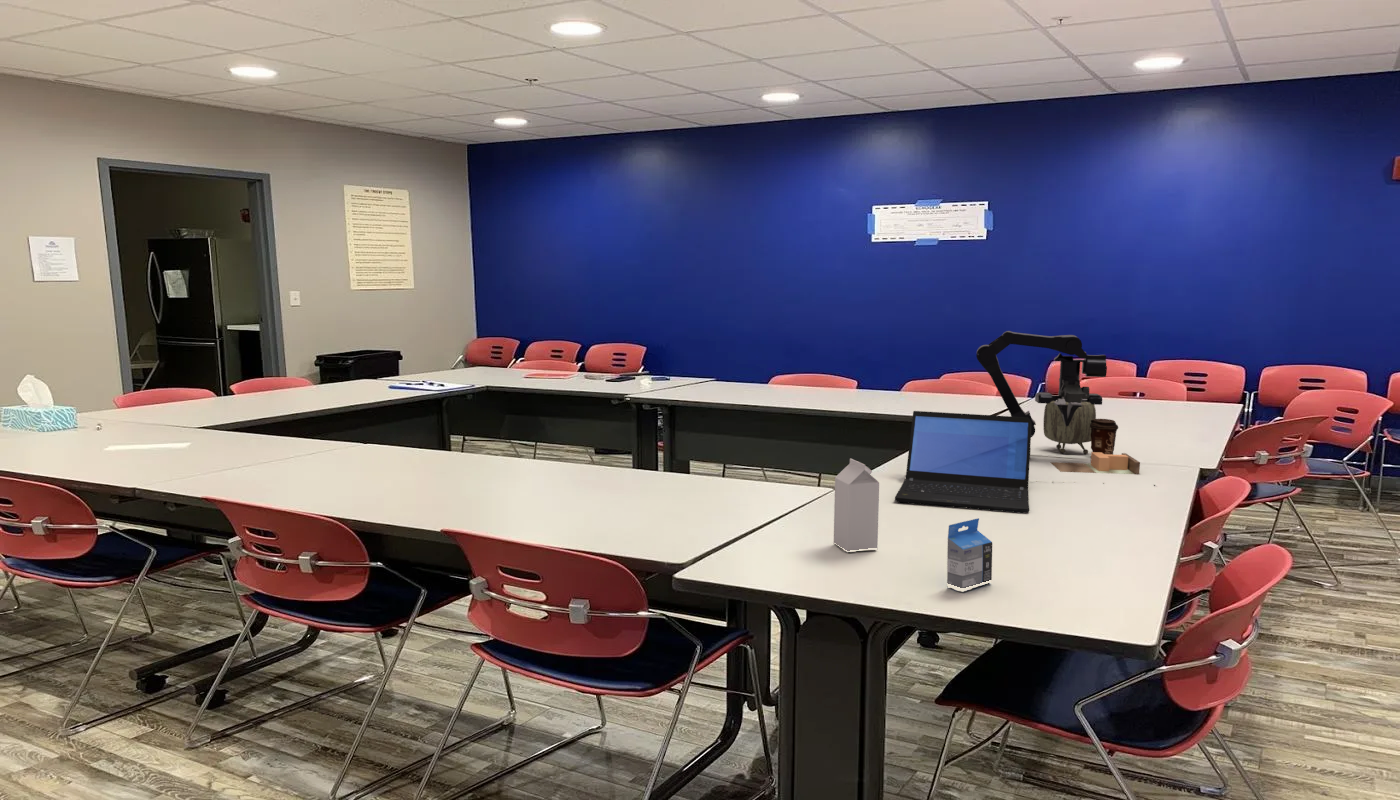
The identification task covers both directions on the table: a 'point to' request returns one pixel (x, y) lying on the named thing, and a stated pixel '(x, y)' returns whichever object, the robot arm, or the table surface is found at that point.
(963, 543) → the label tape box
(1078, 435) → the tabletop clock
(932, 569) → the table surface
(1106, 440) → the coffee cup
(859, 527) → the milk carton
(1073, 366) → the robot arm
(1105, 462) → the tee block
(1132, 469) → the board
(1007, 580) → the table surface
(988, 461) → the laptop
